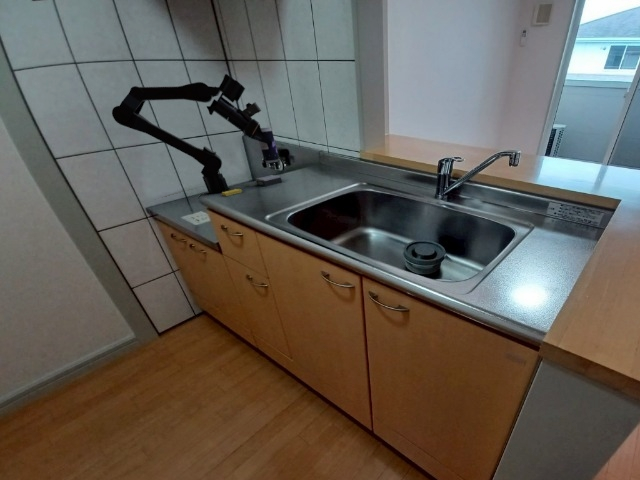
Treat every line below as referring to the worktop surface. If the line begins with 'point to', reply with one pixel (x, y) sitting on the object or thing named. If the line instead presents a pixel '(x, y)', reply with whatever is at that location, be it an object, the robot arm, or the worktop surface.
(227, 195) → the sponge
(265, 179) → the kitchen scale
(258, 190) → the worktop surface
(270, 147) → the beverage can
